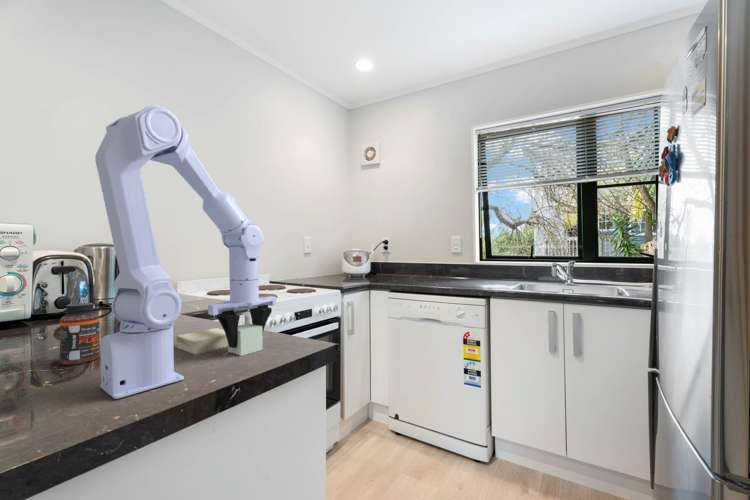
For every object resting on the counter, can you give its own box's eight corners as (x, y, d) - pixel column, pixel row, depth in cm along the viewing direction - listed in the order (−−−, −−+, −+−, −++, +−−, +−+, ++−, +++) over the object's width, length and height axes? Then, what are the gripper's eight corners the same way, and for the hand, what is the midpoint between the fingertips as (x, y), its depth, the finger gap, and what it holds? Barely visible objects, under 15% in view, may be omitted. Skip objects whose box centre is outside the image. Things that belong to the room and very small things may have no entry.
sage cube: (240, 355, 69) (240, 331, 69) (228, 351, 72) (227, 327, 72) (262, 349, 73) (262, 326, 73) (249, 346, 76) (249, 323, 76)
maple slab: (195, 356, 71) (194, 342, 71) (176, 349, 76) (176, 335, 76) (236, 346, 78) (235, 333, 78) (216, 340, 83) (216, 327, 83)
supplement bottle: (82, 366, 64) (80, 306, 64) (51, 366, 65) (49, 306, 65) (107, 356, 70) (106, 301, 70) (79, 356, 71) (78, 301, 71)
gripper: (220, 283, 64) (221, 356, 64) (284, 277, 76) (285, 339, 76) (202, 282, 69) (203, 349, 69) (265, 276, 80) (266, 334, 80)
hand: (245, 343), depth 72 cm, fingers closed on sage cube, 5 cm apart
